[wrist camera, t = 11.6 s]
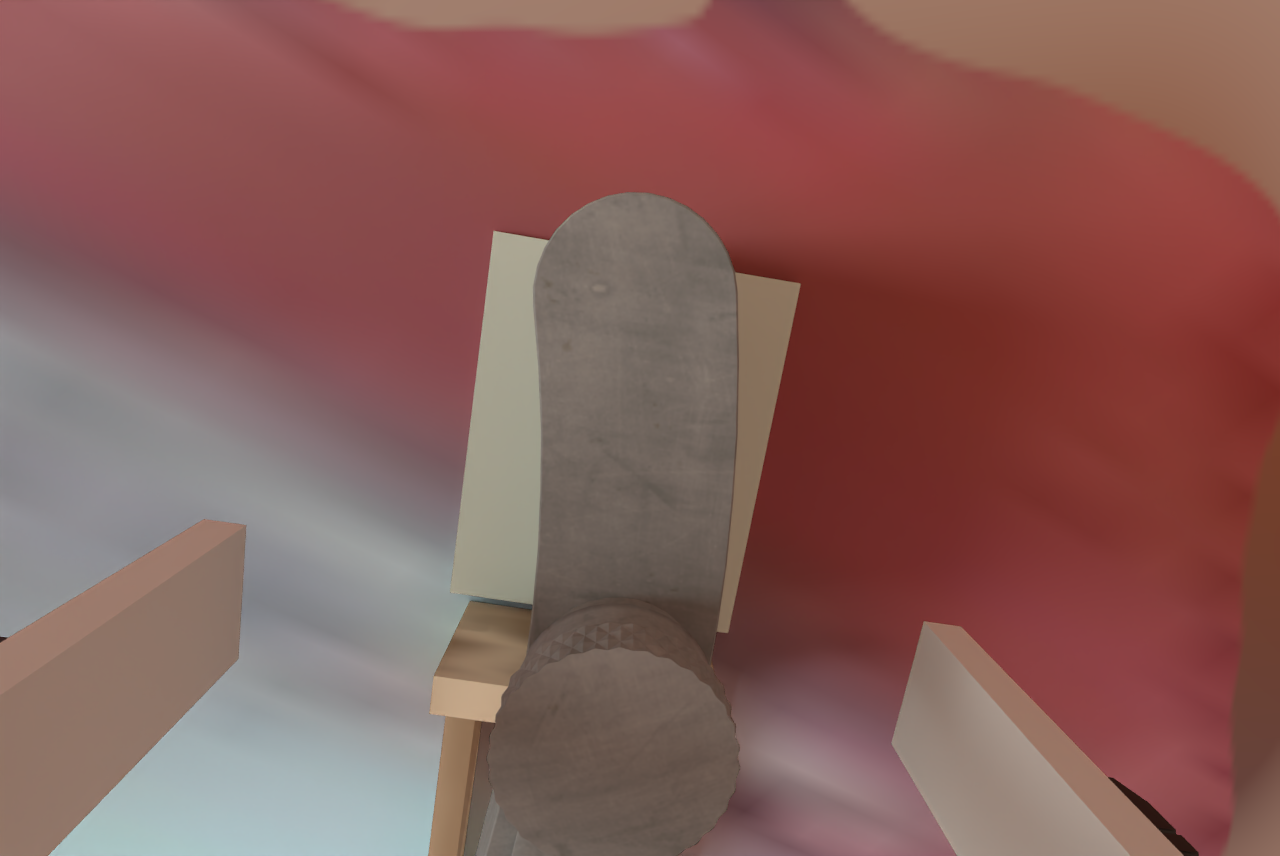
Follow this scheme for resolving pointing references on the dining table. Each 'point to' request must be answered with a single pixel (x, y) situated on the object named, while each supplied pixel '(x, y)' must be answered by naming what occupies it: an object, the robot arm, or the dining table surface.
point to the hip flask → (625, 543)
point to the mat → (511, 429)
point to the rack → (471, 708)
